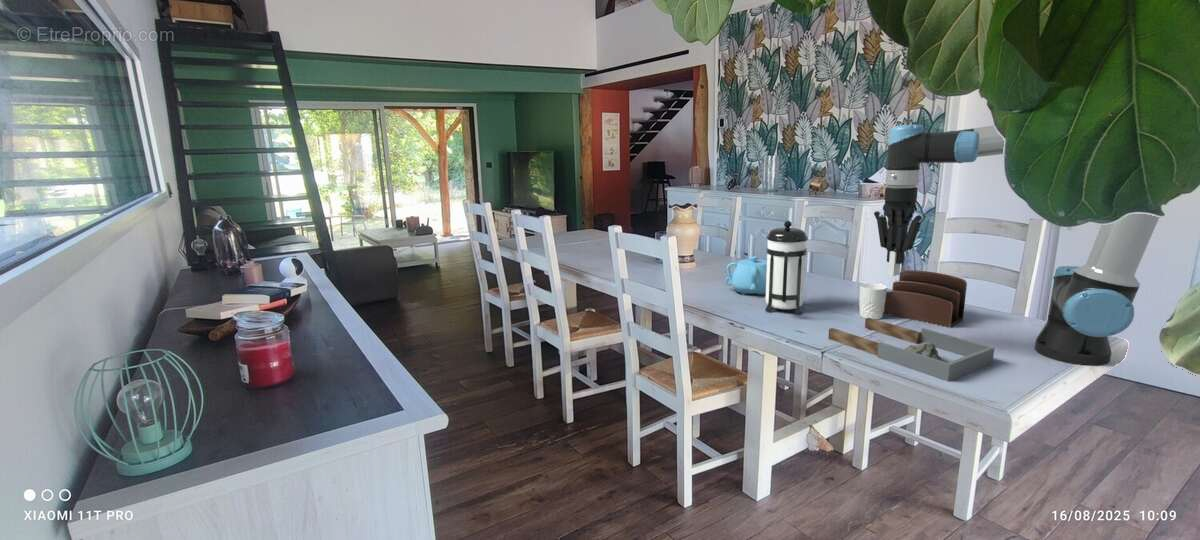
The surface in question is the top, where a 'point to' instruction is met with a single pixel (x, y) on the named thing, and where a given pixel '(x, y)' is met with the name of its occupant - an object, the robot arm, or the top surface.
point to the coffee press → (785, 268)
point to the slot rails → (876, 326)
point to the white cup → (872, 300)
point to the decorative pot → (748, 276)
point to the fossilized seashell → (925, 350)
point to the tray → (973, 360)
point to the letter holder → (927, 297)
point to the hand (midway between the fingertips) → (893, 274)
